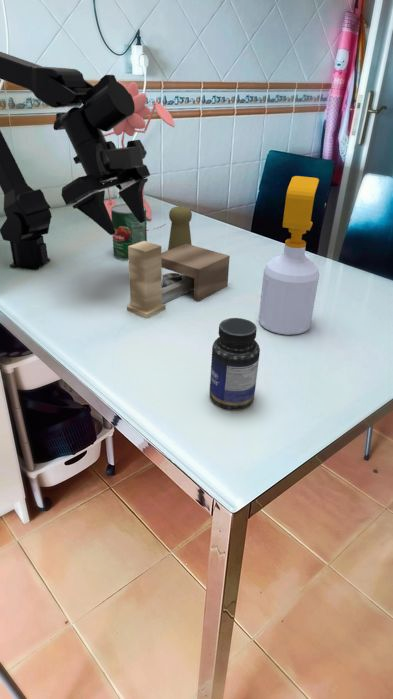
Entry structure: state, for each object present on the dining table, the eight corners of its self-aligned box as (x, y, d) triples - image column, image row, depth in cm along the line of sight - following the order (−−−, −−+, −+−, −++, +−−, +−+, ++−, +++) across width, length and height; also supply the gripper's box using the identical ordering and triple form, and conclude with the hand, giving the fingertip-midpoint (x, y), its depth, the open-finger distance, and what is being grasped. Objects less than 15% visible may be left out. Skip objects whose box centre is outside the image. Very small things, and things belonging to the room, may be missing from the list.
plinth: (154, 286, 96) (154, 255, 93) (185, 272, 103) (186, 243, 100) (197, 301, 91) (199, 269, 88) (227, 286, 98) (229, 255, 94)
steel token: (160, 288, 96) (160, 279, 95) (165, 281, 99) (165, 272, 98) (179, 290, 95) (179, 281, 94) (184, 283, 99) (184, 274, 98)
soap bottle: (313, 317, 87) (337, 176, 74) (306, 340, 79) (332, 187, 67) (264, 308, 89) (280, 170, 76) (253, 330, 82) (269, 181, 69)
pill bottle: (207, 385, 67) (210, 314, 62) (249, 384, 68) (257, 314, 62) (212, 412, 62) (216, 338, 56) (258, 411, 62) (267, 337, 57)
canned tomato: (107, 257, 110) (103, 209, 104) (124, 247, 116) (121, 201, 111) (137, 263, 108) (135, 214, 102) (153, 252, 114) (152, 206, 108)
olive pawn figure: (189, 259, 111) (190, 211, 105) (164, 257, 111) (164, 209, 106) (194, 251, 116) (196, 205, 110) (170, 248, 117) (170, 203, 111)
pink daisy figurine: (79, 219, 135) (66, 78, 117) (165, 214, 144) (167, 81, 125) (88, 237, 123) (76, 82, 105) (182, 230, 132) (186, 85, 113)
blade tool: (126, 310, 87) (123, 246, 81) (186, 282, 99) (188, 224, 93) (147, 318, 84) (145, 253, 78) (206, 288, 96) (208, 230, 90)
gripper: (83, 126, 72) (128, 224, 75) (152, 118, 86) (187, 201, 90) (40, 158, 78) (84, 247, 82) (111, 146, 92) (145, 222, 96)
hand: (128, 227), depth 87 cm, fingers open, 9 cm apart
